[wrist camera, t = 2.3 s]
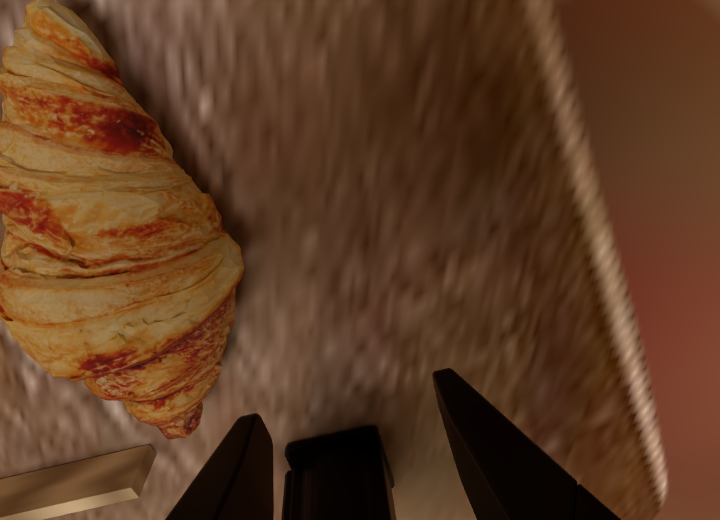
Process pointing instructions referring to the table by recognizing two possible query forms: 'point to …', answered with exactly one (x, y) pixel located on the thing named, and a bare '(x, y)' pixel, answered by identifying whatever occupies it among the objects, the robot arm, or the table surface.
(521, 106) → the table surface
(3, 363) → the table surface
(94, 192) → the croissant
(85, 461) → the frame
